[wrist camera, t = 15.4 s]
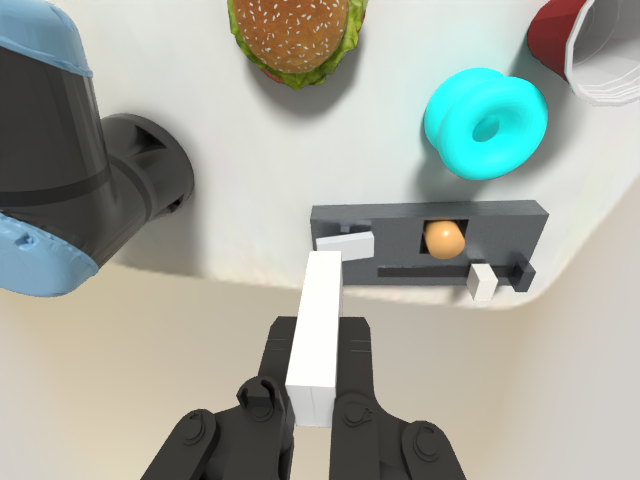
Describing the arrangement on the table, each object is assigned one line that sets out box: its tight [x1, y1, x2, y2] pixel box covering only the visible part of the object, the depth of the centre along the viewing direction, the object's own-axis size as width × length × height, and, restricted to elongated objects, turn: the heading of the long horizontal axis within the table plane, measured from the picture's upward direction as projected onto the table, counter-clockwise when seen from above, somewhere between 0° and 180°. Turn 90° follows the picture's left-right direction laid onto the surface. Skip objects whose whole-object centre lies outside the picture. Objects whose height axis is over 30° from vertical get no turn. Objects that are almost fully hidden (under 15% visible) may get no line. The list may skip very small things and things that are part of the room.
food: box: [227, 0, 368, 90], centre depth 29 cm, size 14×14×8 cm
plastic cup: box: [528, 0, 640, 107], centre depth 26 cm, size 11×11×12 cm
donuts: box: [424, 68, 548, 180], centre depth 33 cm, size 10×10×10 cm
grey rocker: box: [316, 231, 374, 261], centre depth 43 cm, size 8×4×2 cm, turn 95°
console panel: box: [310, 200, 549, 292], centre depth 46 cm, size 32×13×6 cm, turn 94°
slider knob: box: [466, 264, 498, 301], centre depth 44 cm, size 2×4×4 cm, turn 4°
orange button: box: [422, 220, 465, 259], centre depth 43 cm, size 5×5×5 cm
